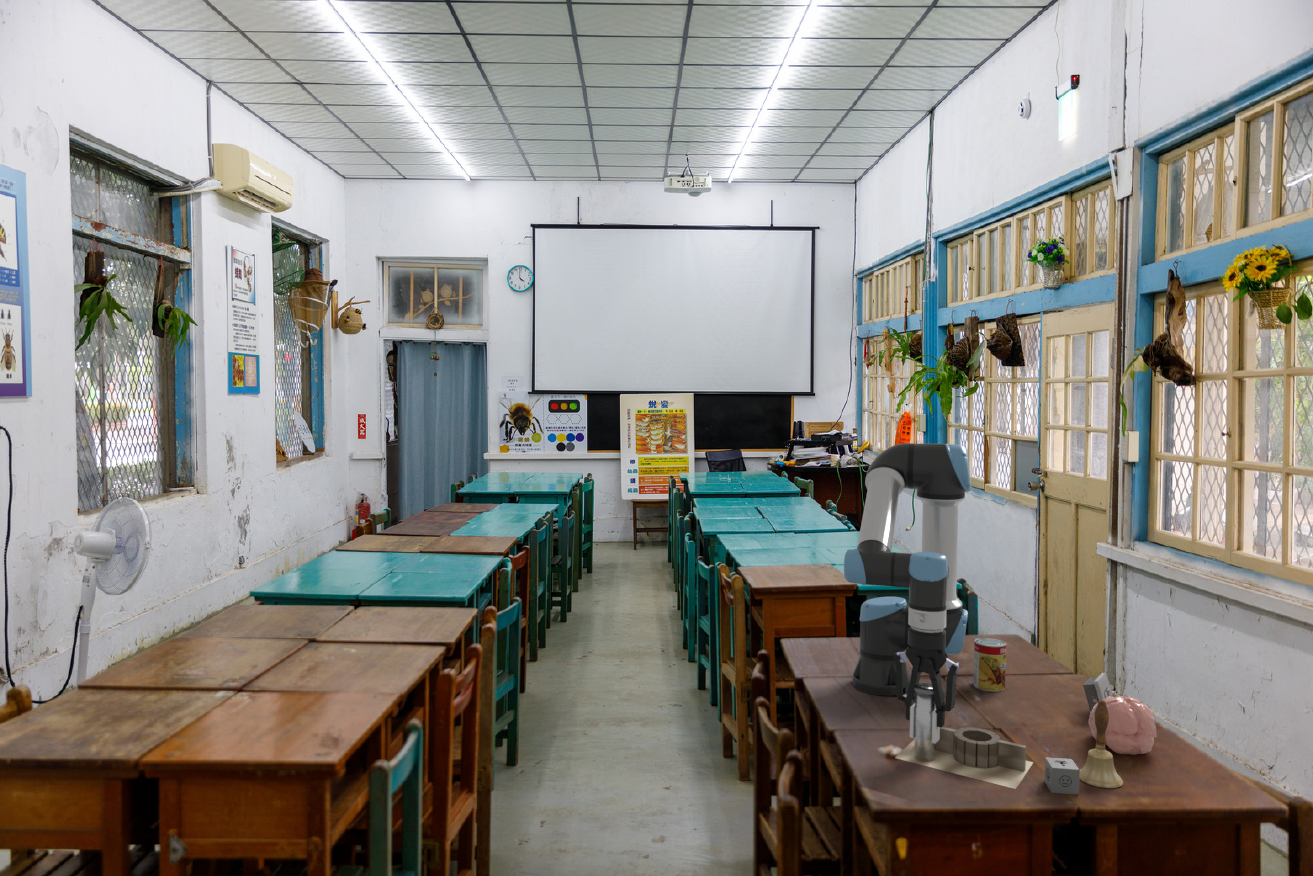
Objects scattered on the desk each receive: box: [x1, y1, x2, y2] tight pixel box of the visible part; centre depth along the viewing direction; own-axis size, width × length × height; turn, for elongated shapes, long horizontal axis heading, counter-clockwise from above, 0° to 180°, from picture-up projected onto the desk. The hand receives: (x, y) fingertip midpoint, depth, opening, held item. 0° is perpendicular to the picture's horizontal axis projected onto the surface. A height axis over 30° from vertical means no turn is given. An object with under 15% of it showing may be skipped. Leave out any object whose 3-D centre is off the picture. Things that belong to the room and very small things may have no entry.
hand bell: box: [1079, 700, 1124, 789], centre depth 174 cm, size 8×8×16 cm
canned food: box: [972, 637, 1007, 693], centre depth 229 cm, size 8×8×12 cm
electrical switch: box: [1082, 672, 1114, 713], centre depth 210 cm, size 9×5×9 cm, turn 141°
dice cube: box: [1043, 756, 1081, 796], centre depth 170 cm, size 5×5×5 cm
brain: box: [1088, 695, 1158, 756], centre depth 190 cm, size 16×13×12 cm
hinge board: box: [894, 726, 1034, 790], centre depth 180 cm, size 24×15×6 cm, turn 54°
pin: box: [913, 682, 936, 762], centre depth 180 cm, size 5×5×15 cm
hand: (924, 738), depth 181 cm, fingers closed on pin, 4 cm apart
